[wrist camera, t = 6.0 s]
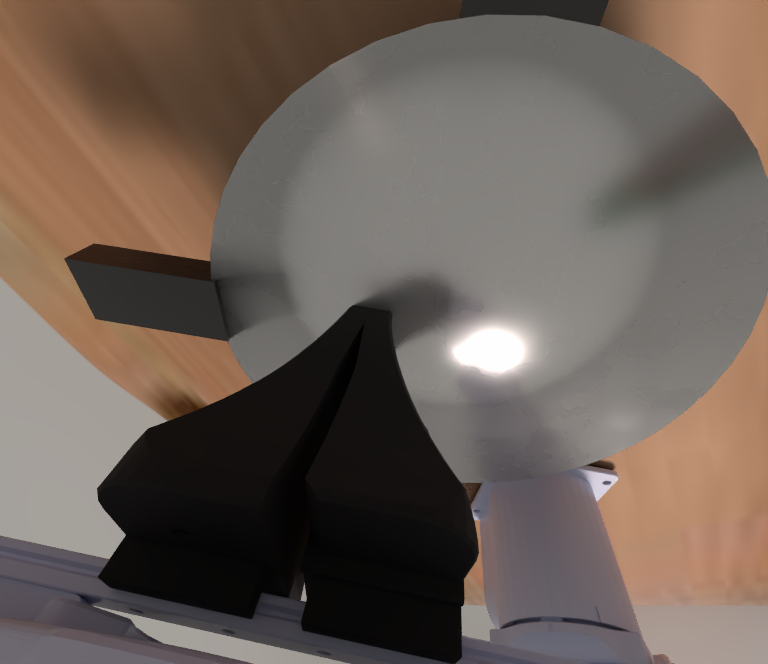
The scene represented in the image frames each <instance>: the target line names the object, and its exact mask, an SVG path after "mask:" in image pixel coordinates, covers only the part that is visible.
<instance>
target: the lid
mask: <svg viewBox="0 0 768 664" xmlns="http://www.w3.org/2000/svg"><path fill="white" fill-rule="evenodd" d="M64 259H65V261H66V263H67V265H68V267H69V269H70V271H71V273H72V274H73V276H74V278H75V280H76V282H77V284H78V286H79V288H80V290H81V292H82V294H83V296H84V297H85V299H86V301H87V303H88V305H89V307H90V309H91V311H92V313H93V315H94V317H95V319H98V320H104V321H110V322H116V323H122V324H128V325H134V326H140V327H146V328H152V329H158V330H164V331H170V332H175V333H181V334H187V335H193V336H199V337H205V338H211V339H217V340H223V341H228V343H229V345H230V347H231V350H232V352H233V354H234V356H235V358H236V359H237V361H238V362H239V364H240V365H241V367H242V369H243V370H244V372H245V373H246V375H247V376H248V378H249V379H250V380H251V382H252V383H255V382H256V381H258V380H260V379H262V378H263V377H265V376H267V375H269V374H270V373H272V372H273V371H275V370H276V369H278V368H279V367H281V366H282V365H284V364H285V363H287V362H288V361H290V360H291V359H292V358H294V357H295V356H296V355H298V354H299V353H300V352H301V351H303V350H304V349H305V348H306V347H308V346H309V345H310V344H311V343H313V342H314V341H315V340H316V339H317V338H319V337H320V336H321V335H322V334H323V333H324V332H325V331H326V330H327V329H328V328H330V327H331V326H332V325H333V324H334V323H335V322H336V321H337V320H338V319H339V318H340V317H341V316H342V315H343V314H344V313H345V312H346V311H347V309H348V308H349V307H351V306H352V305H356V306H362V307H368V308H374V309H381V310H387V311H390V312H391V313H392V314H393V316H392V334H393V341H394V346H395V350H396V355H397V359H398V363H399V366H400V369H401V372H402V376H403V378H404V381H405V384H406V387H407V389H408V392H409V394H410V397H411V399H412V401H413V403H414V406H415V408H416V410H417V412H418V414H419V416H420V418H421V420H422V422H423V423H424V425H425V427H426V429H427V431H428V433H429V434H430V436H431V438H432V440H433V442H434V443H435V445H436V446H437V448H438V450H439V451H440V453H441V454H442V456H443V458H444V459H445V461H446V462H447V464H448V465H449V467H450V468H451V469H452V471H453V472H454V474H455V475H456V477H457V478H458V479H459V481H460V482H461V483H492V482H508V481H517V480H524V479H532V478H537V477H542V476H547V475H552V474H557V473H561V472H564V471H568V470H571V469H575V468H578V467H582V466H585V465H588V464H590V463H593V462H596V461H598V460H601V459H604V458H606V457H609V456H611V455H614V454H616V453H618V452H620V451H622V450H624V449H626V448H628V447H630V446H632V445H635V444H637V443H638V442H640V441H642V440H643V439H645V438H647V437H648V436H650V435H652V434H653V433H655V432H657V431H658V430H660V429H662V428H663V427H665V426H666V425H667V424H669V423H670V422H671V421H673V420H674V419H675V418H677V417H678V416H680V415H681V414H682V413H684V412H685V411H686V410H687V409H688V408H690V407H691V406H692V405H693V404H694V403H695V402H696V401H697V400H698V399H699V398H701V397H702V396H703V395H704V394H705V393H706V392H707V391H708V390H709V389H710V388H711V387H712V386H713V385H714V383H715V382H716V381H717V380H718V379H719V378H720V377H721V375H722V374H723V373H724V372H725V371H726V370H727V368H728V367H729V366H730V365H731V363H732V362H733V360H734V359H735V357H736V356H737V354H738V353H739V351H740V350H741V348H742V347H743V345H744V344H745V342H746V341H747V339H748V338H749V336H750V334H751V332H752V329H753V327H754V325H755V323H756V321H757V318H758V316H759V314H760V312H761V310H762V308H763V305H764V303H765V299H766V295H767V291H768V179H767V177H766V174H765V171H764V168H763V165H762V163H761V160H760V157H759V154H758V151H757V149H756V148H755V146H754V145H753V143H752V141H751V140H750V138H749V137H748V135H747V133H746V132H745V130H744V129H743V127H742V126H741V124H740V122H739V121H738V119H737V118H736V116H735V114H734V113H733V111H732V110H731V109H730V108H729V107H728V106H727V105H726V104H725V103H724V102H723V101H722V100H721V99H720V98H719V97H718V96H717V95H716V94H715V93H714V92H713V91H712V90H711V89H710V88H709V87H708V86H707V85H706V84H705V83H704V82H703V81H702V80H701V79H700V78H699V77H698V76H696V75H695V74H693V73H692V72H690V71H689V70H687V69H686V68H684V67H683V66H681V65H680V64H678V63H676V62H675V61H673V60H672V59H670V58H669V57H667V56H666V55H664V54H663V53H661V52H660V51H658V50H657V49H655V48H653V47H651V46H648V45H646V44H643V43H641V42H638V41H636V40H633V39H631V38H628V37H626V36H623V35H621V34H618V33H616V32H613V31H611V30H608V29H606V28H603V27H600V26H595V25H590V24H585V23H580V22H575V21H570V20H565V19H559V18H554V17H549V16H536V15H481V16H474V17H468V18H461V19H455V20H448V21H442V22H435V23H429V24H426V25H423V26H420V27H417V28H414V29H411V30H408V31H405V32H402V33H399V34H395V35H392V36H389V37H386V38H383V39H380V40H377V41H375V42H373V43H371V44H369V45H367V46H366V47H364V48H362V49H360V50H358V51H356V52H354V53H352V54H350V55H348V56H346V57H344V58H342V59H340V60H339V61H337V62H335V63H333V64H331V65H330V66H328V67H327V68H325V69H324V70H323V71H321V72H320V73H319V74H317V75H316V76H315V77H313V78H312V79H311V80H309V81H308V82H307V83H305V84H304V85H303V86H301V87H300V88H299V89H297V90H296V91H295V92H293V93H292V94H291V95H290V96H289V97H288V98H287V99H286V100H285V101H284V102H283V103H282V104H281V105H280V106H279V108H278V109H277V110H276V111H275V112H274V113H273V114H272V115H271V116H270V117H269V118H268V119H267V120H266V121H265V122H264V123H263V124H262V125H261V127H260V128H259V130H258V131H257V132H256V134H255V135H254V137H253V138H252V140H251V141H250V143H249V144H248V145H247V147H246V148H245V150H244V151H243V153H242V154H241V156H240V157H239V159H238V161H237V163H236V165H235V167H234V169H233V172H232V174H231V176H230V178H229V180H228V182H227V184H226V186H225V188H224V191H223V194H222V197H221V201H220V204H219V208H218V211H217V215H216V218H215V222H214V228H213V236H212V244H211V252H210V259H211V261H204V260H198V259H191V258H185V257H178V256H172V255H165V254H159V253H152V252H146V251H139V250H133V249H126V248H120V247H114V246H107V245H101V244H92V245H90V246H88V247H86V248H84V249H82V250H80V251H78V252H76V253H74V254H72V255H70V256H68V257H66V258H64Z"/></svg>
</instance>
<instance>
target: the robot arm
mask: <svg viewBox="0 0 768 664" xmlns="http://www.w3.org/2000/svg"><path fill="white" fill-rule="evenodd" d="M392 316H393V314H392V313H391V312H390V311H387V310H381V309H374V308H368V307H362V306H356V305H352V306H351V307H349V308H348V309H347V311H346V312H345V313H344V314H343V315H342V316H341V317H340V318H339V319H338V320H337V321H336V322H335V323H334V324H333V325H332V326H331V327H330V328H328V329H327V330H326V331H325V332H324V333H323V334H322V335H321V336H320V337H319V338H317V339H316V340H315V341H314V342H313V343H311V344H310V345H309V346H308V347H306V348H305V349H304V350H303V351H301V352H300V353H299V354H298V355H296V356H295V357H294V358H292V359H291V360H290V361H288V362H287V363H285V364H284V365H282V366H281V367H279V368H278V369H276V370H275V371H273V372H272V373H270V374H269V375H267V376H265V377H263V378H262V379H260V380H258V381H256V382H255V383H253V384H251V385H249V386H247V387H246V388H244V389H242V390H240V391H238V392H236V393H234V394H232V395H230V396H228V397H226V398H224V399H222V400H219V401H217V402H215V403H213V404H210V405H208V406H206V407H203V408H201V409H199V410H196V411H194V412H191V413H189V414H186V415H183V416H181V417H178V418H175V419H173V420H170V421H167V422H165V423H162V424H160V425H157V426H154V427H151V428H149V429H147V430H146V431H145V432H144V433H143V435H142V436H141V437H140V438H139V439H138V440H137V441H136V442H135V443H134V444H133V445H132V447H131V448H130V449H129V450H128V451H127V453H126V454H125V455H124V456H123V458H122V459H121V460H120V461H119V463H118V464H117V465H116V466H115V468H114V469H113V470H112V471H111V473H110V474H109V475H108V476H107V477H106V478H105V480H104V481H103V482H102V483H101V485H100V486H99V487H98V488H97V492H98V501H99V502H100V504H101V505H102V507H103V508H104V510H105V511H106V512H107V513H108V514H109V516H111V518H112V519H113V520H114V521H115V522H116V524H117V525H118V526H119V527H120V528H121V530H122V531H123V532H124V533H125V534H126V536H125V538H124V539H123V541H122V542H121V543H120V545H119V546H118V548H117V549H116V551H115V552H114V554H113V555H112V557H111V558H110V559H105V558H101V557H96V556H91V555H87V554H82V553H78V552H73V551H68V550H64V549H59V548H55V547H50V546H45V545H41V544H36V543H31V542H27V541H22V540H18V539H13V538H8V537H4V536H0V664H252V663H248V662H244V661H240V660H236V659H231V658H227V657H223V656H219V655H214V654H210V653H205V652H201V651H197V650H192V649H187V648H182V647H178V646H173V645H168V644H163V643H161V642H159V641H158V640H155V639H154V638H152V637H150V636H148V635H146V634H145V633H143V632H142V631H141V630H139V629H138V628H136V627H135V625H134V624H133V622H132V621H131V620H130V619H128V618H126V617H123V616H120V615H116V614H114V613H111V612H108V611H105V610H102V609H99V608H96V607H93V606H98V607H102V608H107V609H111V610H116V611H121V612H124V613H129V614H133V615H138V616H142V617H147V618H151V619H156V620H160V621H165V622H169V623H174V624H178V625H182V626H187V627H191V628H195V629H200V630H204V631H209V632H213V633H218V634H222V635H226V636H231V637H235V638H240V639H244V640H249V641H253V642H257V643H262V644H266V645H271V646H275V647H280V648H284V649H289V650H293V651H298V652H302V653H306V654H311V655H315V656H320V657H324V658H329V659H333V660H337V661H342V662H346V663H350V664H673V663H671V661H670V659H669V658H668V657H667V656H666V655H664V654H660V655H653V656H652V654H651V652H650V651H649V649H648V647H647V645H646V643H645V641H644V640H643V637H642V634H641V631H640V628H639V625H638V622H637V619H636V616H635V613H634V610H633V608H632V604H631V601H630V599H629V596H628V593H627V590H626V587H625V584H624V581H623V578H622V575H621V572H620V569H619V566H618V563H617V560H616V557H615V554H614V551H613V548H612V545H611V542H610V539H609V536H608V533H607V531H606V528H605V525H604V522H603V519H602V516H601V513H600V510H599V507H598V504H597V501H598V500H599V499H600V498H601V497H602V496H603V495H604V494H605V493H606V492H607V491H608V490H609V489H610V488H611V486H612V485H613V484H614V483H615V482H616V481H617V480H618V479H619V477H618V475H617V472H615V471H613V470H609V469H604V468H598V467H593V466H587V465H585V466H582V467H578V468H575V469H571V470H568V471H564V472H561V473H557V474H552V475H547V476H542V477H537V478H532V479H524V480H517V481H508V482H492V483H482V484H481V486H480V488H479V490H478V492H477V494H476V496H475V498H474V500H473V502H472V504H471V506H470V502H469V499H468V495H467V492H466V489H465V488H464V486H463V485H462V483H461V482H460V481H459V479H458V478H457V477H456V475H455V474H454V472H453V471H452V469H451V468H450V467H449V465H448V464H447V462H446V461H445V459H444V458H443V456H442V454H441V453H440V451H439V450H438V448H437V446H436V445H435V443H434V442H433V440H432V438H431V436H430V434H429V433H428V431H427V429H426V427H425V425H424V423H423V422H422V420H421V418H420V416H419V414H418V412H417V410H416V408H415V406H414V403H413V401H412V399H411V397H410V394H409V392H408V389H407V387H406V384H405V381H404V378H403V376H402V372H401V369H400V366H399V363H398V359H397V355H396V350H395V346H394V341H393V334H392ZM474 520H480V536H481V551H482V566H483V581H484V596H485V602H486V607H487V610H488V613H489V616H490V618H491V620H492V622H493V624H494V626H495V628H496V629H491V630H490V642H489V641H484V640H479V639H475V638H470V637H465V636H462V631H461V630H462V626H461V606H463V605H464V578H465V577H466V575H467V574H468V572H469V571H470V569H471V568H472V567H473V565H474V564H475V562H476V560H477V557H478V554H479V549H478V538H477V532H476V527H475V521H474ZM304 582H305V589H306V596H307V601H306V602H304V601H300V600H301V595H302V591H303V586H304Z"/></svg>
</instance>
